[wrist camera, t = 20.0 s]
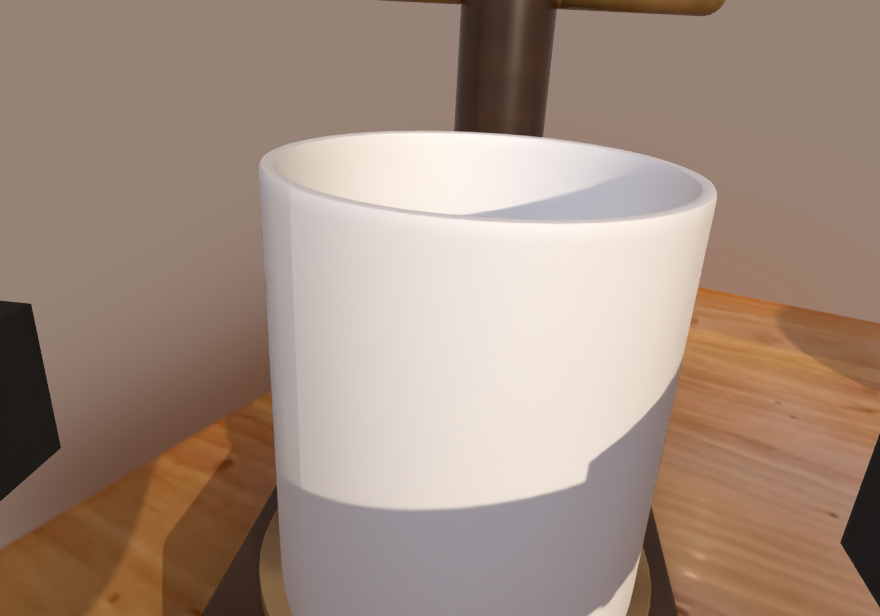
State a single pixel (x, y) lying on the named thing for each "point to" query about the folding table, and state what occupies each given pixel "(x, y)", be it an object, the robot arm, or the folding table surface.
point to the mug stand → (487, 111)
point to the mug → (472, 366)
